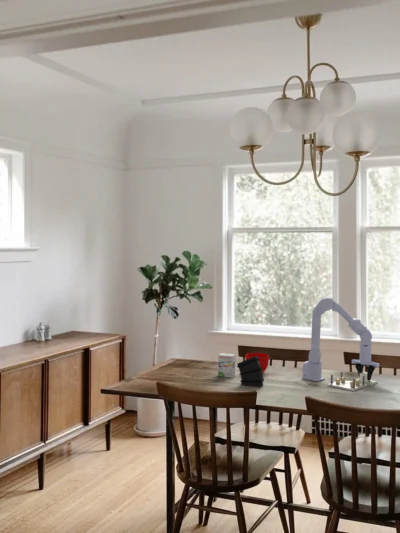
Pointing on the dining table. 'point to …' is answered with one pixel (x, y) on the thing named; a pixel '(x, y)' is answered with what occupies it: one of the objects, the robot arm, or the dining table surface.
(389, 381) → the dining table surface
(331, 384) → the plate
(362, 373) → the sage board
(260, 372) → the magazine
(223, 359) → the ink box
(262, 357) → the ceramic cup
